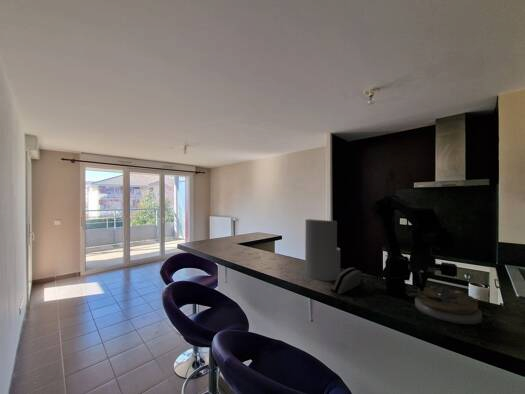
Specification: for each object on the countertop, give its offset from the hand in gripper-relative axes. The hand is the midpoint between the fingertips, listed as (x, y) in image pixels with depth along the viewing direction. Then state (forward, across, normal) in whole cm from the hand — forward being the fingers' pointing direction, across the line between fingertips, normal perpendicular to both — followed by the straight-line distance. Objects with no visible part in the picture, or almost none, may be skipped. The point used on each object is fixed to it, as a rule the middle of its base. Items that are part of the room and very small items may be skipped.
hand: (421, 290), depth 80 cm
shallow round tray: (+5, +6, +6) cm, 10 cm away
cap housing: (+7, +6, +6) cm, 11 cm away
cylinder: (+7, -44, +16) cm, 47 cm away
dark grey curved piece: (+7, -27, +5) cm, 29 cm away
